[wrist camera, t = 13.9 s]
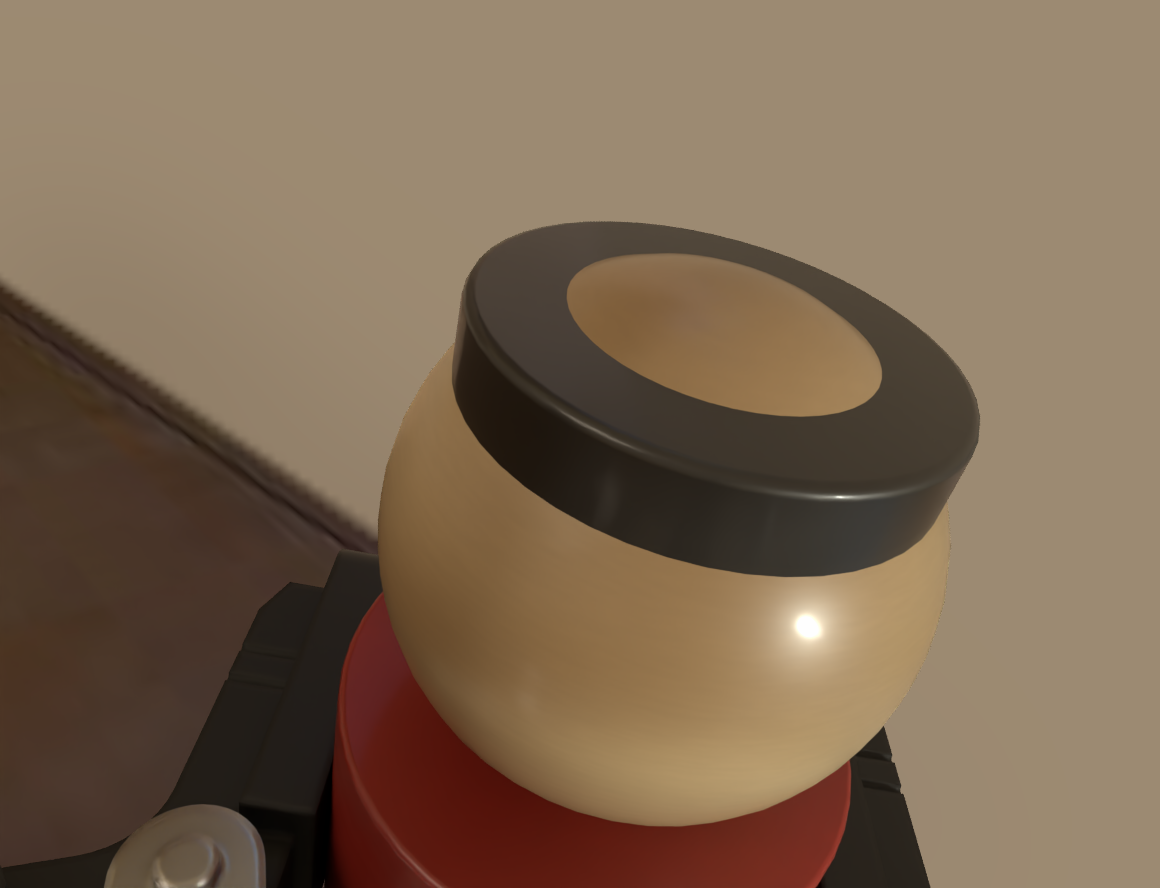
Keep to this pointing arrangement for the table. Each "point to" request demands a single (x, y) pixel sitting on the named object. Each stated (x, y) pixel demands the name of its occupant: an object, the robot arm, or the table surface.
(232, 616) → the table surface
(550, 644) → the doll
